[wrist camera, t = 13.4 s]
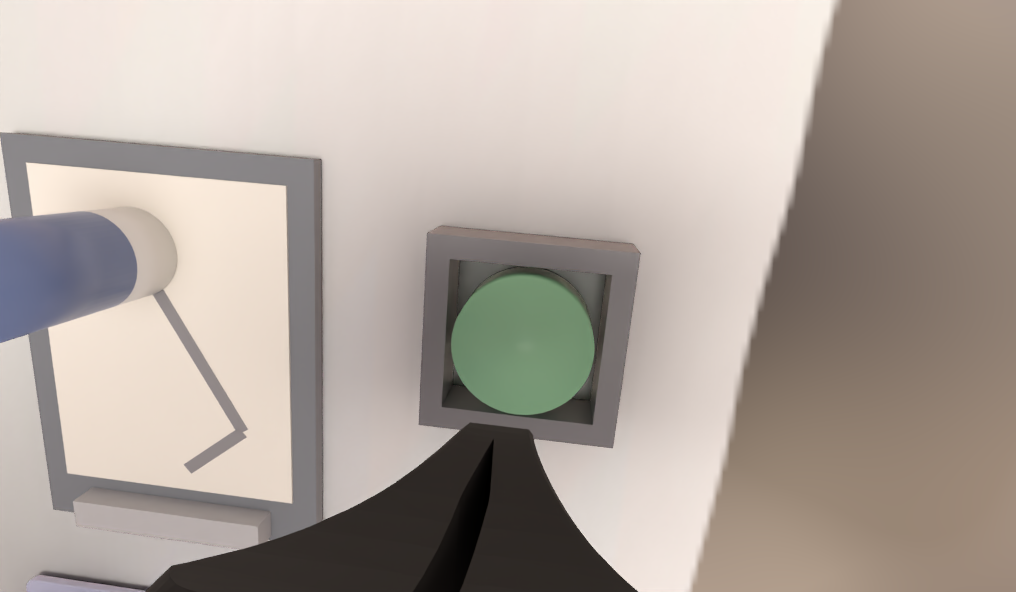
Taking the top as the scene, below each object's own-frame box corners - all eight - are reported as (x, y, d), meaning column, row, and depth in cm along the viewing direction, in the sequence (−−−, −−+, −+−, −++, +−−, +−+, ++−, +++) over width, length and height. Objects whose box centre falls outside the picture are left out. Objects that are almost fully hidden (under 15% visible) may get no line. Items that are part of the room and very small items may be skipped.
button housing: (608, 422, 22) (612, 448, 20) (431, 401, 22) (418, 424, 20) (633, 243, 20) (640, 253, 18) (440, 225, 20) (427, 233, 18)
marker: (180, 299, 21) (0, 363, 14) (98, 292, 22) (-117, 351, 15) (173, 209, 20) (-23, 232, 14) (87, 203, 21) (-146, 223, 14)
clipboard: (322, 536, 24) (306, 562, 23) (65, 501, 25) (32, 523, 23) (321, 159, 20) (300, 159, 19) (15, 133, 21) (-29, 131, 20)
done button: (583, 398, 21) (585, 422, 19) (457, 383, 21) (447, 406, 19) (599, 273, 20) (603, 286, 18) (465, 260, 20) (455, 271, 18)
